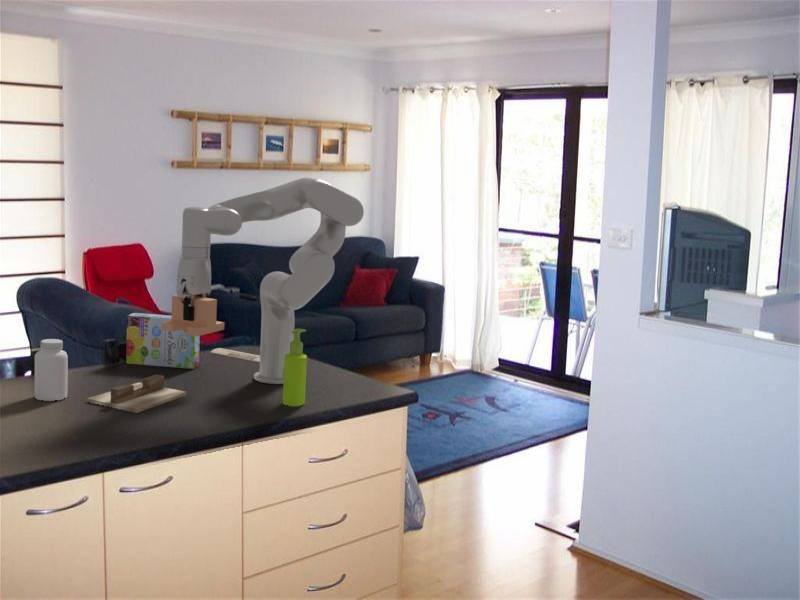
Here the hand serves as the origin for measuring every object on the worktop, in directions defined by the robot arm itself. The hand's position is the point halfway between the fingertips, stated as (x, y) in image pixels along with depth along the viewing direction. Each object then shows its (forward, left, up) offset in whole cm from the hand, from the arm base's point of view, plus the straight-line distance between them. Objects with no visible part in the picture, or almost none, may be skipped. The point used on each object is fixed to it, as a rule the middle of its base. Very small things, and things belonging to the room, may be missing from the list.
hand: (193, 318), depth 253 cm
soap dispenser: (-31, -3, -19) cm, 37 cm away
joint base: (+4, +18, -19) cm, 27 cm away
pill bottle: (+22, +30, -19) cm, 42 cm away
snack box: (+22, -15, -20) cm, 33 cm away
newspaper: (+8, -38, -20) cm, 44 cm away
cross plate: (0, 0, -3) cm, 3 cm away
